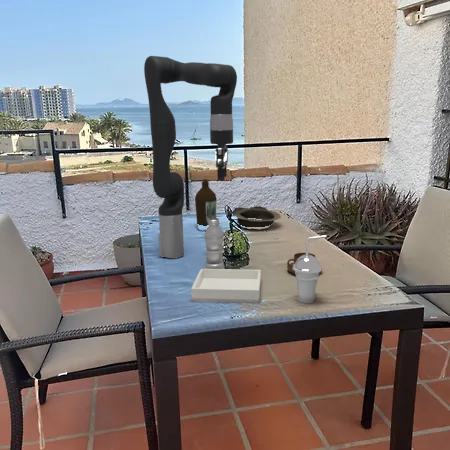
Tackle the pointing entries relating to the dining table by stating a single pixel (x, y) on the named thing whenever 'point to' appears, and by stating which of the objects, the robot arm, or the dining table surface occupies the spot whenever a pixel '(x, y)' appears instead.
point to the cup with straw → (307, 274)
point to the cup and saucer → (295, 261)
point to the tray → (227, 286)
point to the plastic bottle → (214, 245)
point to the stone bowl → (255, 216)
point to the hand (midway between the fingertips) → (222, 178)
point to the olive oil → (205, 204)
